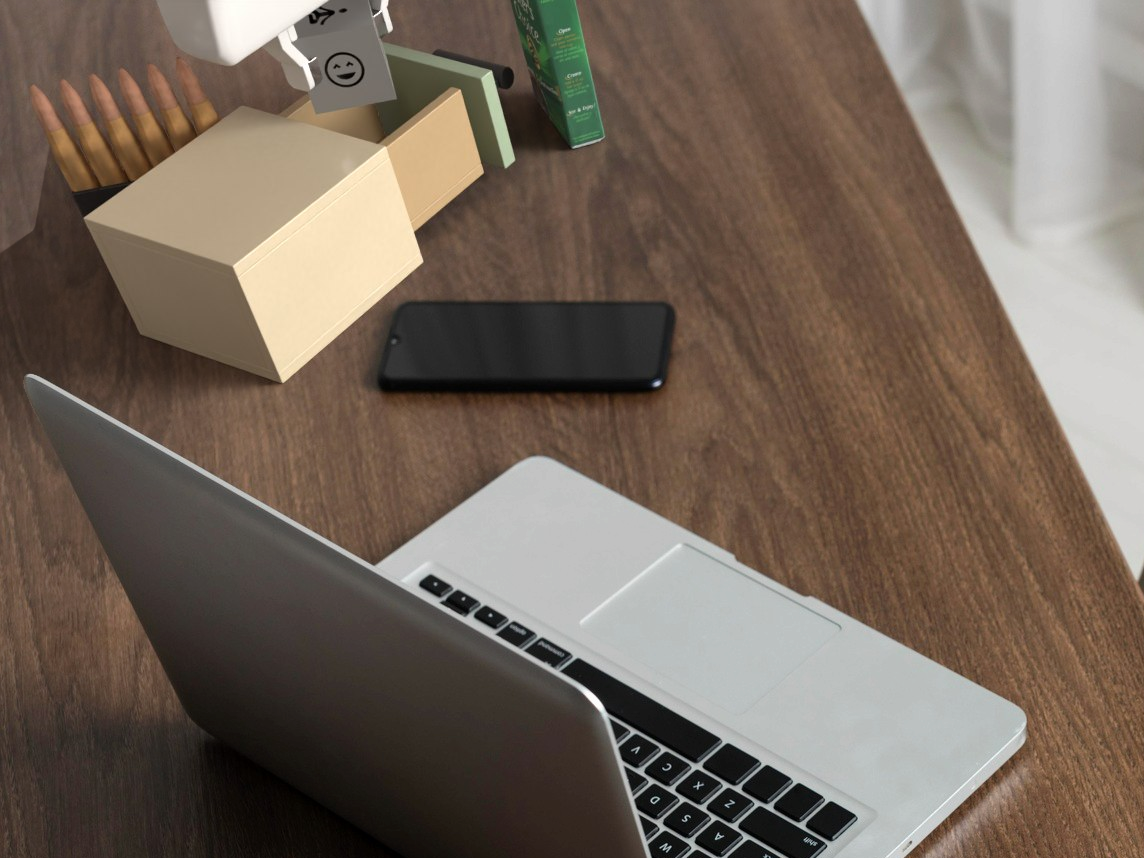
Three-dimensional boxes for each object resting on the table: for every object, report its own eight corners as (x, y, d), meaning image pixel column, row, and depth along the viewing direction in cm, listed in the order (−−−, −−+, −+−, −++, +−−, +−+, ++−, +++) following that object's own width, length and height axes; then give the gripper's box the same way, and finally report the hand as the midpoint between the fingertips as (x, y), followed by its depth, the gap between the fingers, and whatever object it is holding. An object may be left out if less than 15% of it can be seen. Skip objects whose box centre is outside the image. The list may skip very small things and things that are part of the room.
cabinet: (286, 219, 116) (241, 104, 110) (423, 262, 113) (386, 145, 106) (139, 334, 108) (82, 217, 102) (282, 384, 105) (232, 266, 98)
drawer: (433, 97, 124) (407, 8, 119) (552, 129, 121) (530, 39, 116) (275, 220, 114) (239, 129, 109) (400, 259, 111) (369, 167, 106)
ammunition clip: (269, 215, 115) (194, 47, 107) (268, 230, 114) (192, 61, 105) (106, 247, 114) (17, 80, 105) (103, 262, 113) (12, 94, 104)
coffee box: (531, 99, 125) (487, -78, 116) (568, 88, 126) (528, -88, 116) (569, 151, 121) (527, -28, 111) (607, 140, 122) (569, -39, 112)
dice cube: (308, 75, 111) (282, 1, 107) (387, 60, 112) (364, -13, 108) (316, 114, 108) (289, 40, 104) (396, 98, 109) (373, 24, 105)
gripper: (345, -242, 105) (407, -24, 115) (95, -101, 93) (190, 128, 103) (427, -225, 103) (483, -5, 113) (183, -79, 91) (271, 152, 101)
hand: (342, 60), depth 108 cm, fingers closed on dice cube, 5 cm apart
